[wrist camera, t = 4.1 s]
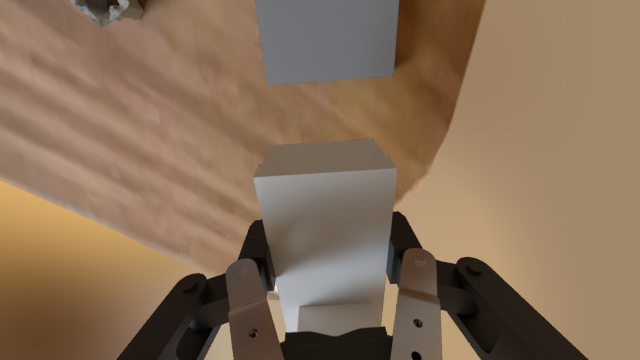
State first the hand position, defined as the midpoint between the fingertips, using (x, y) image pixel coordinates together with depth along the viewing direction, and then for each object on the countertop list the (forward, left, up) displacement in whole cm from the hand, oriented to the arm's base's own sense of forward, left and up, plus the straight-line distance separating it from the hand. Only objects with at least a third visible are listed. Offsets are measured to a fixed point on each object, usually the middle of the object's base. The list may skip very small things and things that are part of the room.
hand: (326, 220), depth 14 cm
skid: (+1, 0, -1) cm, 2 cm away
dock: (-12, +1, -14) cm, 19 cm away
